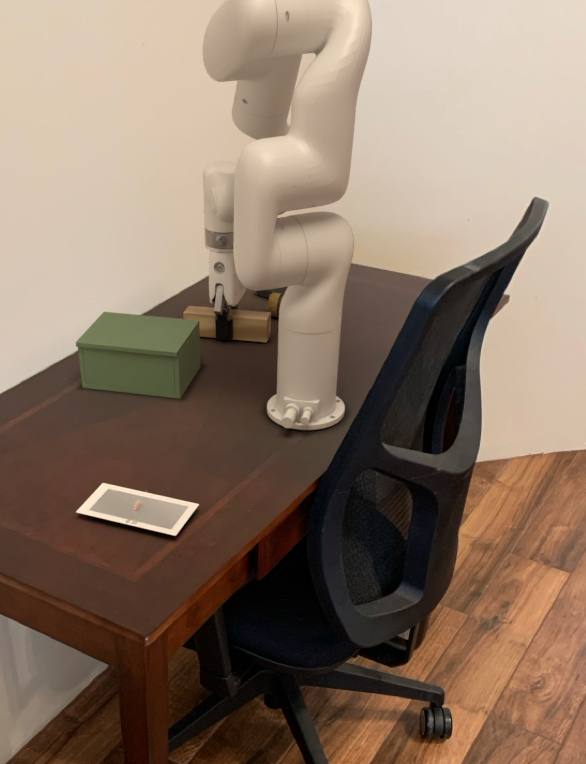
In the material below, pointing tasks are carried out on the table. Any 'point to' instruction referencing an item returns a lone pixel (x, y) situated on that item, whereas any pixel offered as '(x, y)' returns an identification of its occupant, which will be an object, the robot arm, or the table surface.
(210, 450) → the table surface
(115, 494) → the touchpad
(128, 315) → the box lid
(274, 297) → the gavel
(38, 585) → the table surface
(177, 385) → the box
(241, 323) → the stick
